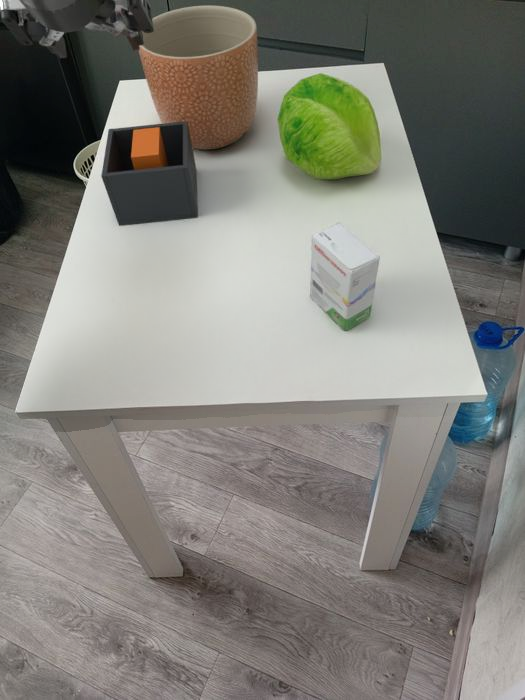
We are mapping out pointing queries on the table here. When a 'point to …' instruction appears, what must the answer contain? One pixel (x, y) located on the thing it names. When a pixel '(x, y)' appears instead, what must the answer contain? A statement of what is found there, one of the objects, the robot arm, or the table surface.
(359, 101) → the lettuce
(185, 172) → the dark grey open box
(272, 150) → the table surface
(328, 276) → the ink box
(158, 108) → the planter
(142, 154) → the block
